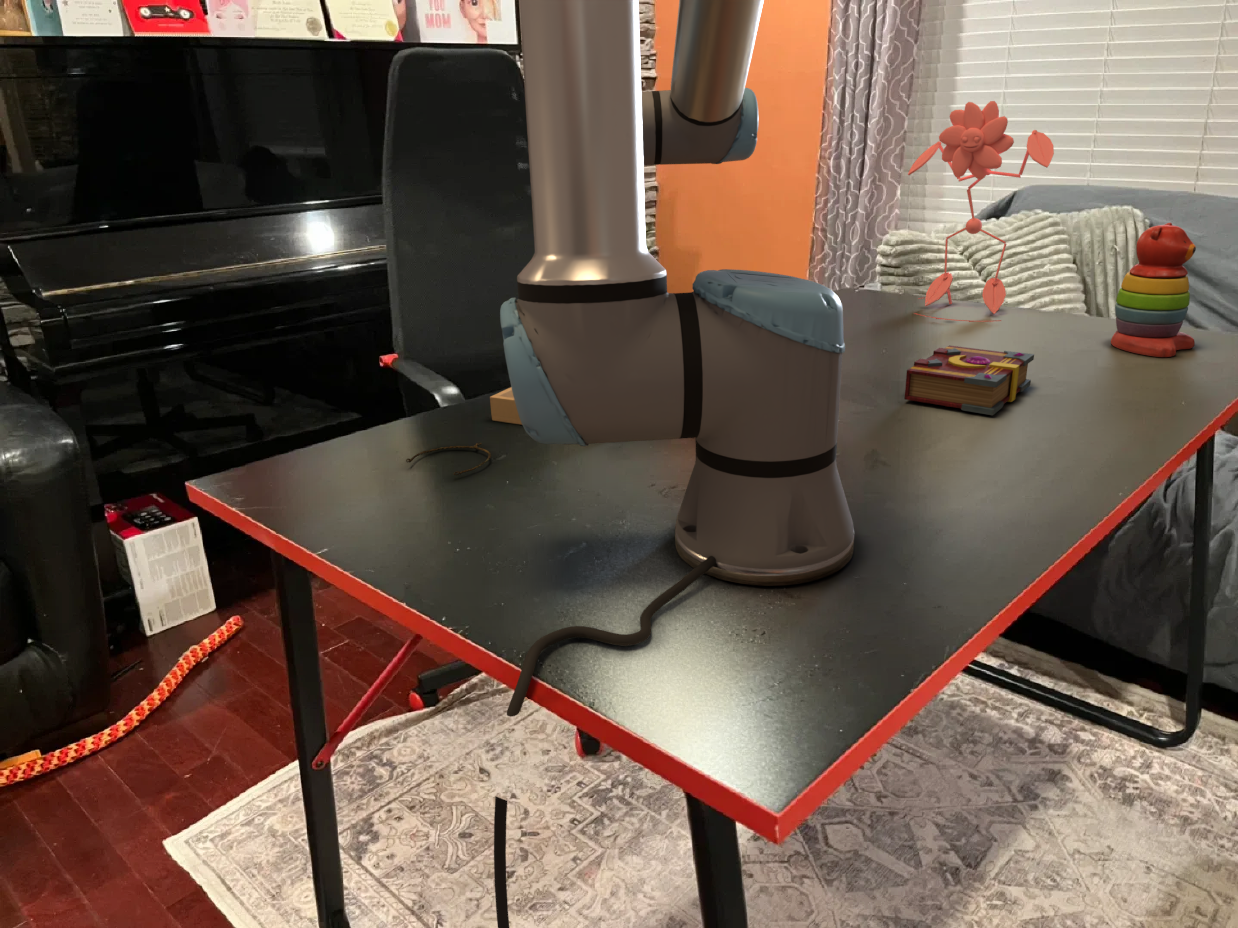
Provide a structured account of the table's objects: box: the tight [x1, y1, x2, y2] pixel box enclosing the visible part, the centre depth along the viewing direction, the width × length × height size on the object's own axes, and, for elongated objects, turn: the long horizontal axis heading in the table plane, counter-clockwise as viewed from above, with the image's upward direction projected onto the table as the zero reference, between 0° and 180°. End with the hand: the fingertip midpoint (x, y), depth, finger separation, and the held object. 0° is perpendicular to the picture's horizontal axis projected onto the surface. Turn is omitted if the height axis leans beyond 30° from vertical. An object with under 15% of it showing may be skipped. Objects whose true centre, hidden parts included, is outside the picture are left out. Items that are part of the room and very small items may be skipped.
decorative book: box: [904, 345, 1035, 416], centre depth 116 cm, size 11×16×5 cm
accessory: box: [405, 442, 492, 476], centre depth 101 cm, size 9×9×1 cm
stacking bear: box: [1110, 222, 1197, 358], centre depth 133 cm, size 11×10×18 cm
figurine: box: [907, 100, 1055, 323], centre depth 155 cm, size 15×26×35 cm, turn 43°
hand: (594, 383), depth 118 cm, fingers open, 13 cm apart
